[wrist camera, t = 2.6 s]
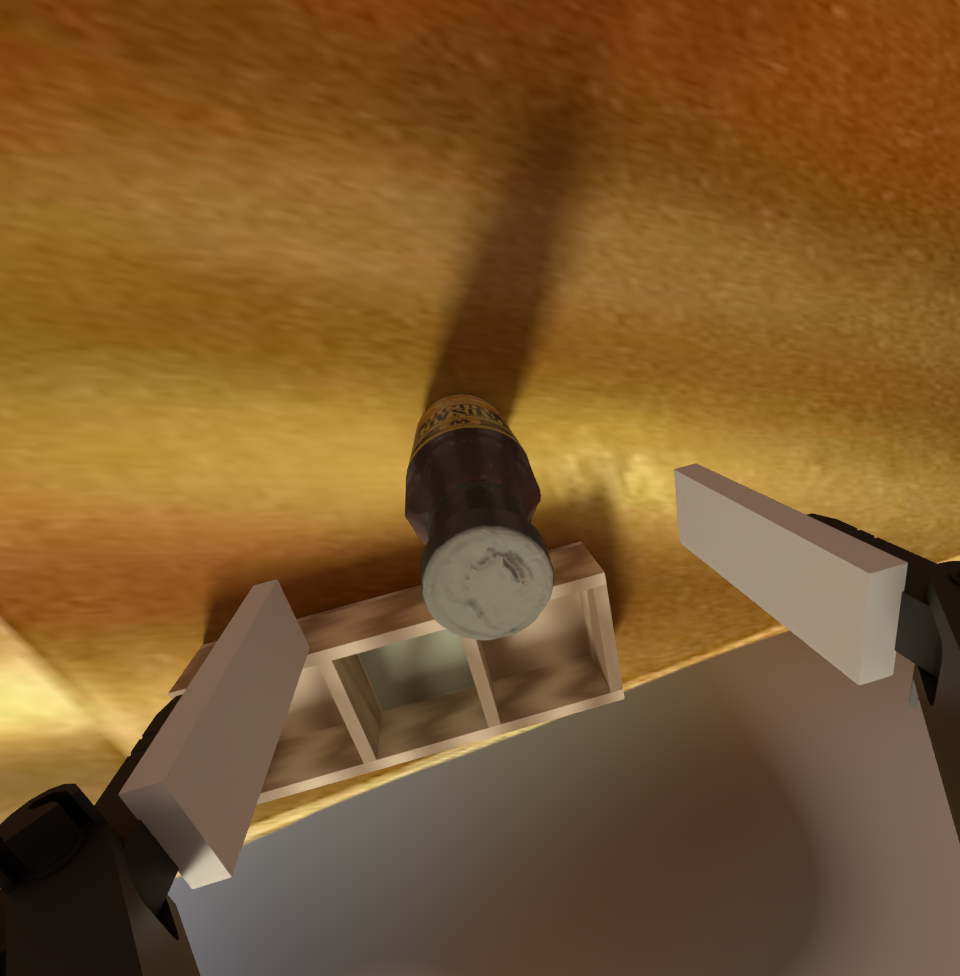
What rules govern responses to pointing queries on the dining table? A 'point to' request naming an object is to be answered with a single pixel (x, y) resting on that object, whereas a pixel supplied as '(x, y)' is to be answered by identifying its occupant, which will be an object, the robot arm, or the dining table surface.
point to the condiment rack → (435, 679)
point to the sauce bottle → (476, 521)
